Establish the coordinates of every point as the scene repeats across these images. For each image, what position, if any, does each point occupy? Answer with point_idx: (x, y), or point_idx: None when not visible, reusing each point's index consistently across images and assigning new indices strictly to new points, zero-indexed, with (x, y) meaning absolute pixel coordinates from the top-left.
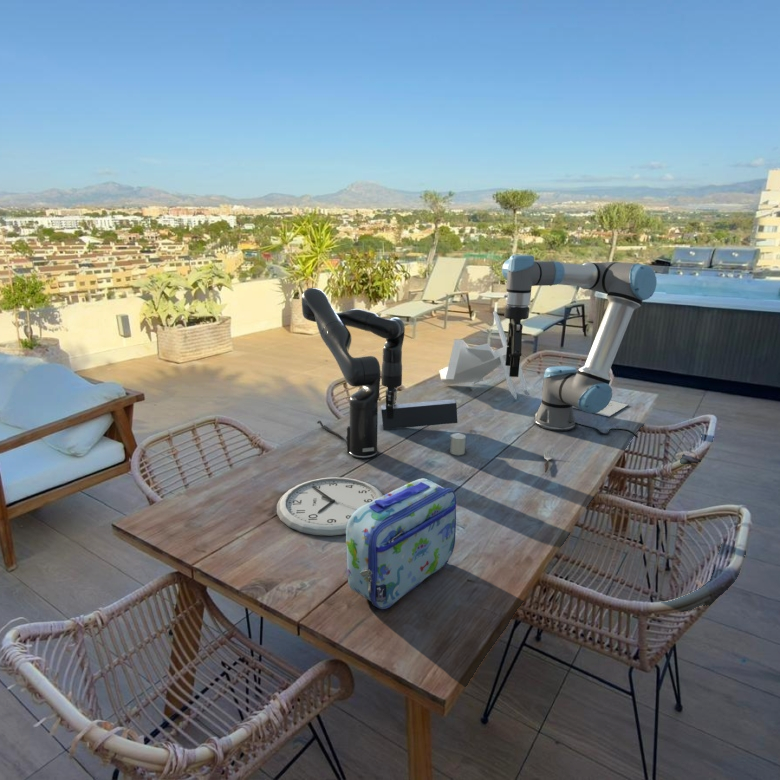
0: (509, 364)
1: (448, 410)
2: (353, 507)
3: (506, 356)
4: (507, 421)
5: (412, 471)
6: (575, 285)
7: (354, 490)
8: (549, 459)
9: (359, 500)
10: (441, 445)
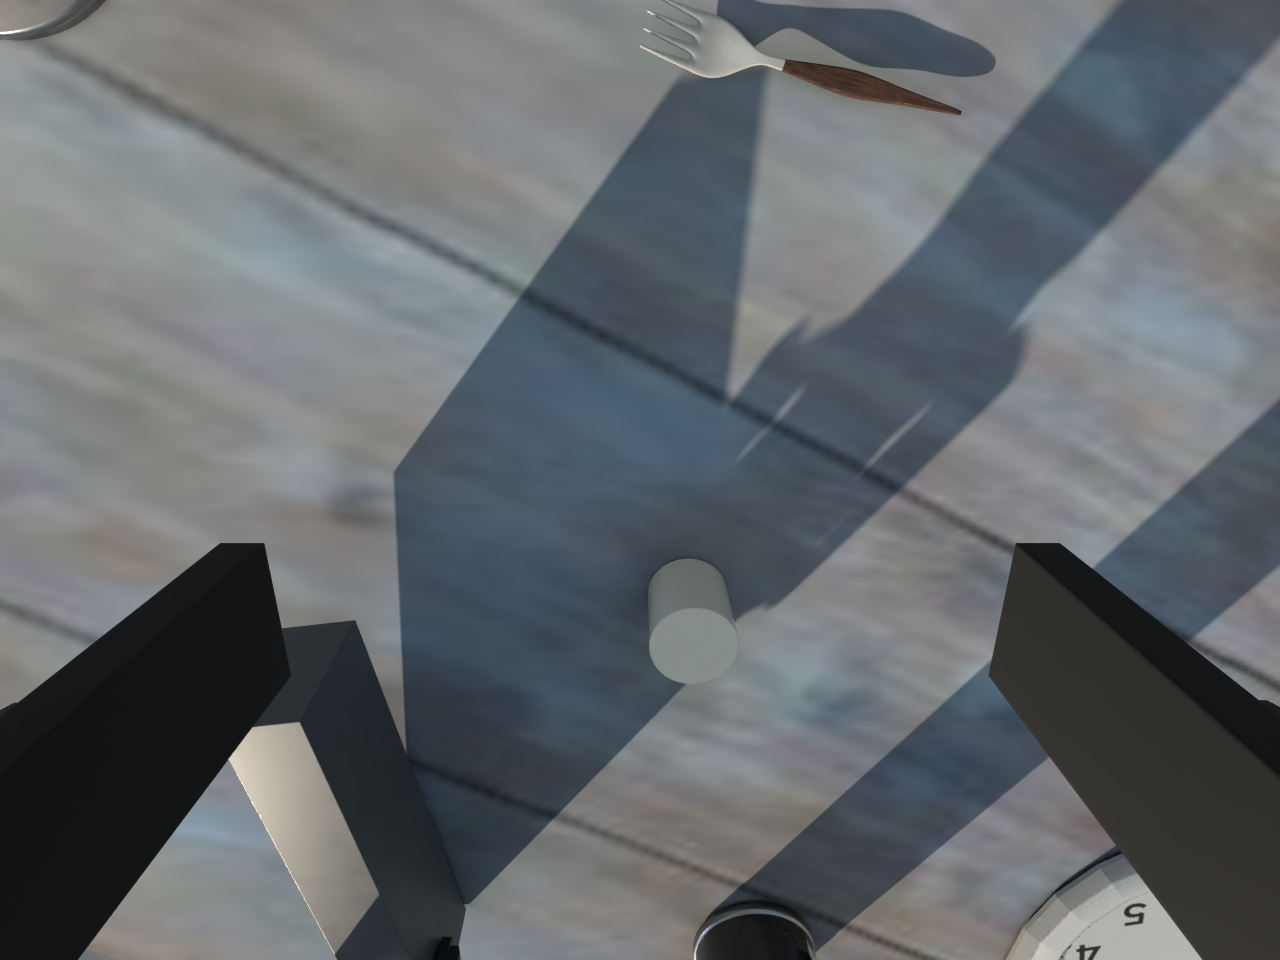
0: (265, 629)
1: (339, 725)
2: None
3: (187, 809)
4: (76, 266)
5: (921, 767)
6: None
7: (1121, 937)
8: (750, 43)
9: None
10: (608, 666)
